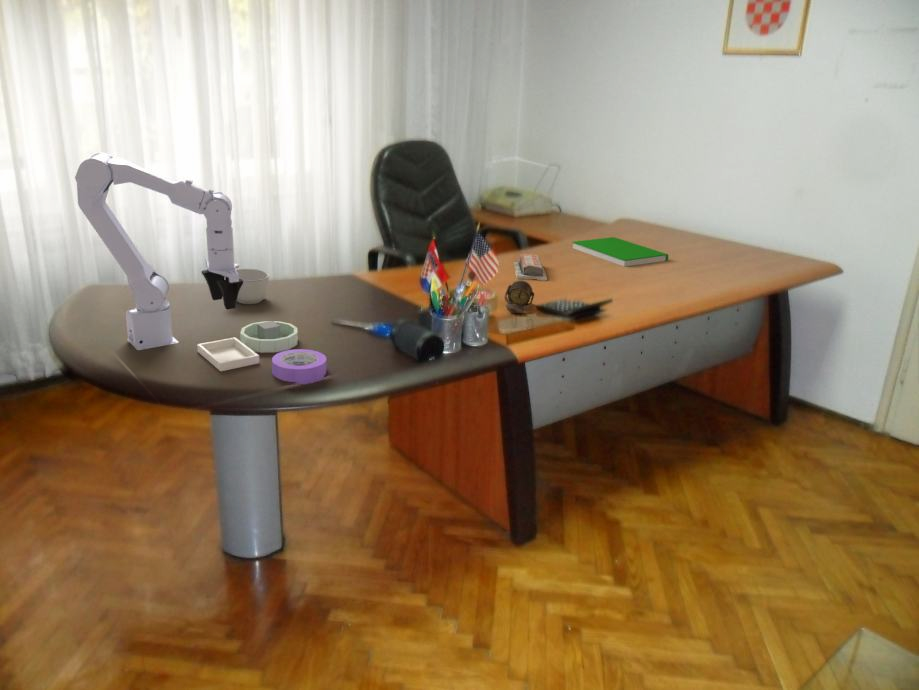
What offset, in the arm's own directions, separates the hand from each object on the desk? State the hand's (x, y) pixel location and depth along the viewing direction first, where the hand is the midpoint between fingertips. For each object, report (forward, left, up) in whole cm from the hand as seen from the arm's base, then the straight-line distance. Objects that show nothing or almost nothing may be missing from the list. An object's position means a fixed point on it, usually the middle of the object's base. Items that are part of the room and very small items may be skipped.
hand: (223, 303), depth 178 cm
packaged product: (+110, +10, -10) cm, 111 cm away
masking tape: (+6, -26, -10) cm, 28 cm away
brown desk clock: (+80, -15, -10) cm, 82 cm away
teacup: (+16, +25, -10) cm, 31 cm away
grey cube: (+8, -7, -9) cm, 14 cm away
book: (+158, +12, -10) cm, 159 cm away
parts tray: (-4, -11, -9) cm, 15 cm away
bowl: (+8, -7, -9) cm, 14 cm away
